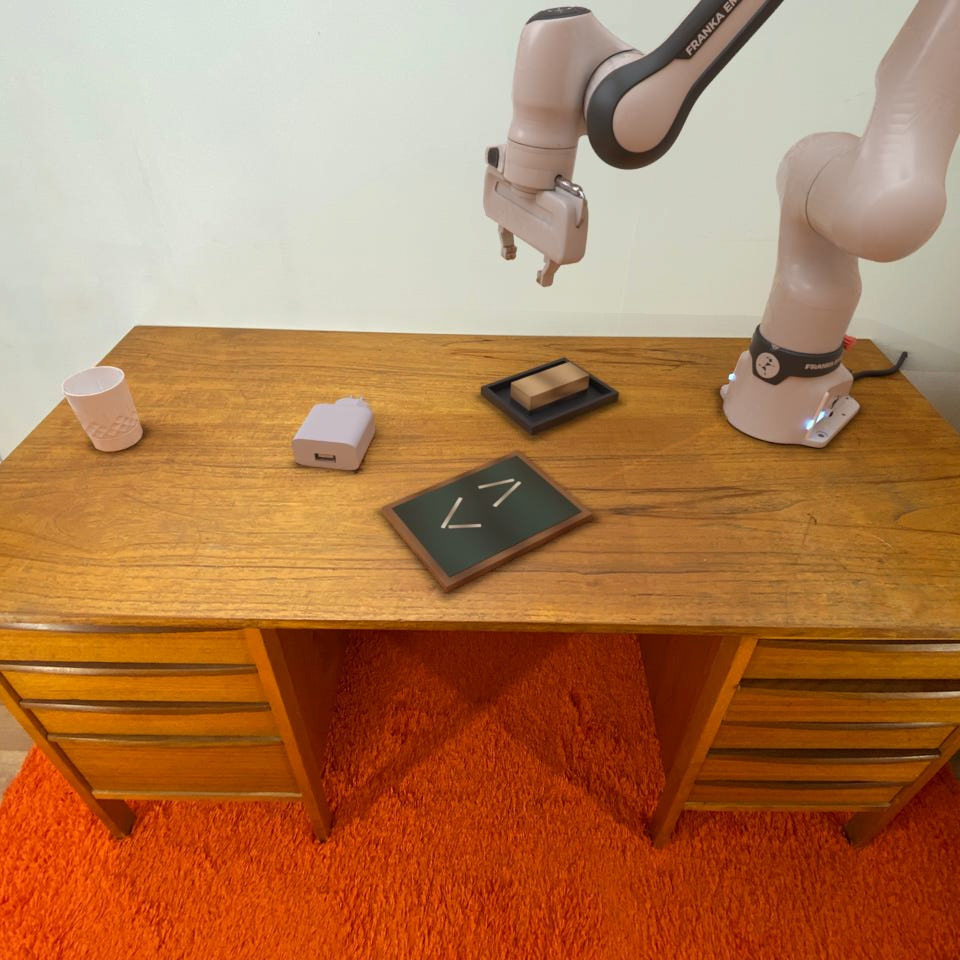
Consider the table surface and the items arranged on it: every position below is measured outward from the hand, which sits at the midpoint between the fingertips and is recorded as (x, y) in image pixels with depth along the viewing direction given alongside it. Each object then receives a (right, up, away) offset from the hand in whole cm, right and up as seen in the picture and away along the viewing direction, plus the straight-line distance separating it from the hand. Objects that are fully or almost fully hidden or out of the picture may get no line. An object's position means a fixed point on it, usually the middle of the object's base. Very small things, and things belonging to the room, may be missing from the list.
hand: (525, 271), depth 89 cm
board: (-6, -34, -7) cm, 35 cm away
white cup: (-60, -23, +5) cm, 65 cm away
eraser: (+5, -16, +14) cm, 22 cm away
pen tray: (+5, -16, +14) cm, 22 cm away
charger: (-27, -23, +6) cm, 36 cm away
